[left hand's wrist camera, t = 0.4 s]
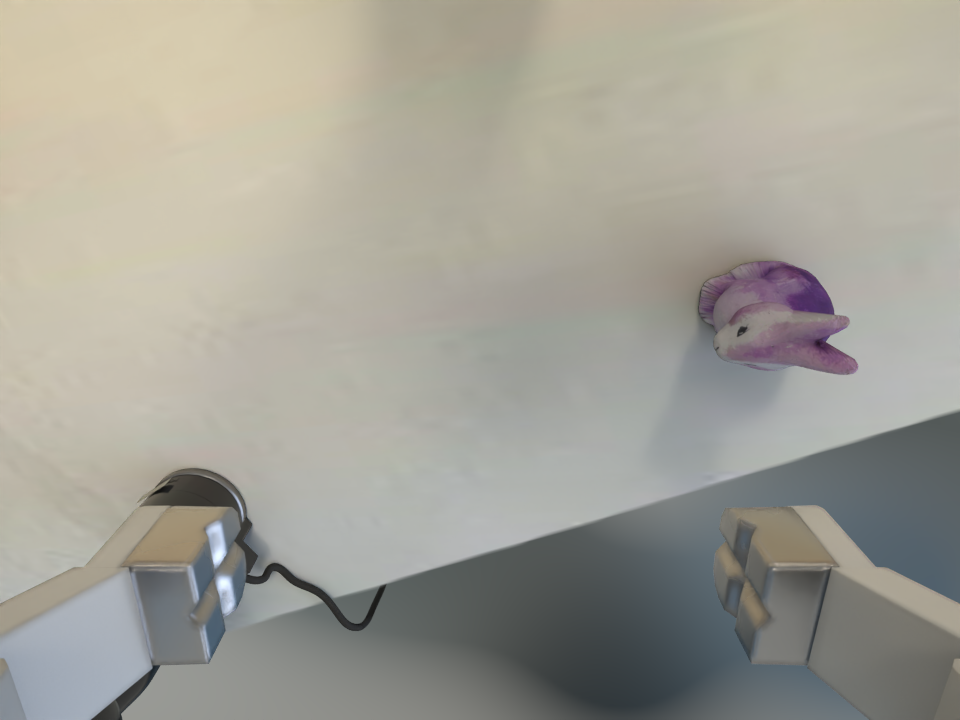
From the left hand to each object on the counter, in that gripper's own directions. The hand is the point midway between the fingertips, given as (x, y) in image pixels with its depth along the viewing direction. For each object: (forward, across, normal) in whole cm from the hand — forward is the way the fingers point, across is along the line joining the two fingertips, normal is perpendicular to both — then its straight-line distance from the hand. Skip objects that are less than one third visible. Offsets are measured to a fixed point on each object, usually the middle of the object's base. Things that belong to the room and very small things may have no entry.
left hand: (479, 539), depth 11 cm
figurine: (+46, -24, +9) cm, 53 cm away
